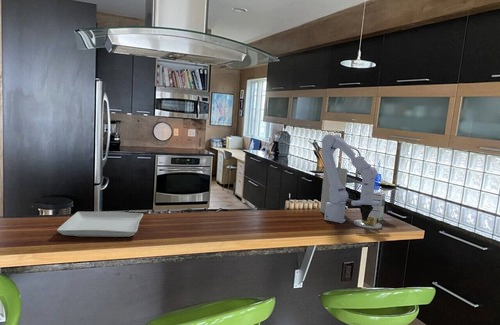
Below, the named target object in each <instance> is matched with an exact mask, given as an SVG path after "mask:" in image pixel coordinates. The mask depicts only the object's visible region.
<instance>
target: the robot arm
mask: <svg viewBox="0 0 500 325" xmlns="http://www.w3.org/2000/svg"><path fill="white" fill-rule="evenodd" d="M337 149H339V150H340V151H342V152H343V153H344V154H345V156H347V157H348V158H349V159H350V160H351V162H350V163H351V165H352V166H353V167H354V168H355V169H356V170H357V172H359V173H360V177H361V179H362V181H361V188H360V189H361V190H360V198H359V199H358V200H351V203H350V204H351V206H354V207H355V206H358V208H359V211H360V214H361V220H363V221H367V218H368V217H369V216H370V212H371V211H372V210H373V207H372V206H381V202H376V201H373V194H374V192H375V184H376V183H375V182H376V181H375V180H376V178H377V177H378V171H377V169H376V168H375V167H373V166H372V165H371V164H370V163H368V162H367V161H366V159H365V157H364V156H361V155H357V154H356V152H355V151H354V150H353V149H352V148H351V146H350V145H349V144H348V143H347V142H346V141H345V139H344V138H343V137H342V136H341V135H339V134H330V133H328V134H325V135H324V136H323V138H322V140H321V157H322V162H323V164H324V167H325V169H326V172H327V176H328V179H329V183H330V188H329V199H330V201H331V202H327V204H326V207H325V213H324V217H323V218H324V219H323V220H325V221H329V222H335V223H339V224H343V223H344V222H345V221H347V219H346V218H345V212H346V202H347V201H348V200H349V193H348V191H347V190H346V189H345V188H344V186H343V185H342V184H341V182H340V178H339V175H338V171H337V168H338V167H337V165H336V161H335V157H334V155H333V154H334V153H335V151H336V150H337ZM336 167H337V168H336Z"/></svg>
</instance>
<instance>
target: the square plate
mask: <svg viewBox="0 0 500 325" xmlns="http://www.w3.org/2000/svg"><path fill="white" fill-rule="evenodd" d="M143 217H144V213H141V212H139V213H138V212H124V211H122V212H121V211H77V212H75V213H74V214H73V215H72V216H70V217H69V218H68V219H67V220H66V221H65V222H64V223H62V224H61V225H59V227H58V228H57V229H56V231H57V232H58V233H59V234H60V235H63V236H73V237H93V238H94V237H95V238H97V237H98V238H99V237H103V238H105V237H108V238H111V237H113V238H118V237H119V238H120V237H121V238H124V237H127V238H128V237H131V236H134V235H135V234H136V233H137V232H138V229H139V226H140V222H141V221H142V218H143Z"/></svg>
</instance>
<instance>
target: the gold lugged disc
mask: <svg viewBox="0 0 500 325" xmlns="http://www.w3.org/2000/svg"><path fill="white" fill-rule="evenodd" d="M369 216H370V215H369ZM369 216H368V218H367V221H363V220H362V219H361V220H362V222H363V223H366V224H371V225H373V226H376V222H377V218H375V217H371V216H370V217H369Z"/></svg>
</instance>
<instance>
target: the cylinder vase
mask: <svg viewBox="0 0 500 325" xmlns="http://www.w3.org/2000/svg"><path fill="white" fill-rule="evenodd" d="M336 168H337V171H338V175H339V178H340V182H341V184H342V185H343V186H344V188H345V190H346V186H347V179H348V178H347V177H348V169H347V168H344V167H343V168H342V167H337V166H336ZM321 188H322V189H321V196H320V197H321V200H320V209H319V210H320V212H321V213H322V214H325V207H326V204H327V202H331V201H330V199H329V188H330V183H329V179H328V176H327V172H326V169H325V166H324V167H323V176H322V186H321Z"/></svg>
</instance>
